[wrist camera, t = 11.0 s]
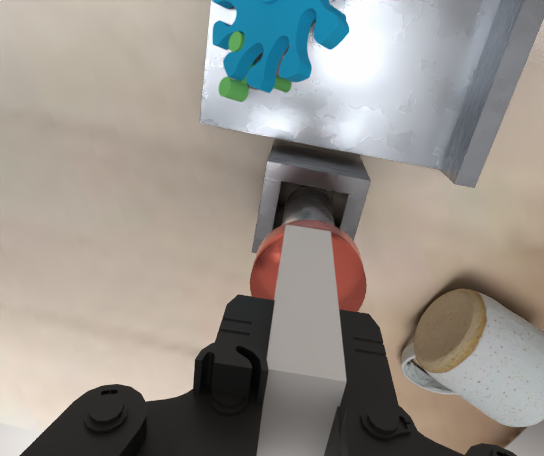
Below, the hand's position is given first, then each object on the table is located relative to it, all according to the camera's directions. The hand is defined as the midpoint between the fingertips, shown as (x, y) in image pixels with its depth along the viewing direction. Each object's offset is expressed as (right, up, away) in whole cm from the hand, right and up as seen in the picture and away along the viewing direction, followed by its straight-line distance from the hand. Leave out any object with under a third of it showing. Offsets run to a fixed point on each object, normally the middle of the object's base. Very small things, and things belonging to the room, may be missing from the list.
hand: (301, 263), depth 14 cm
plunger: (+1, +2, +12) cm, 12 cm away
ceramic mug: (+15, -8, +21) cm, 26 cm away
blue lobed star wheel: (0, +14, +10) cm, 17 cm away
